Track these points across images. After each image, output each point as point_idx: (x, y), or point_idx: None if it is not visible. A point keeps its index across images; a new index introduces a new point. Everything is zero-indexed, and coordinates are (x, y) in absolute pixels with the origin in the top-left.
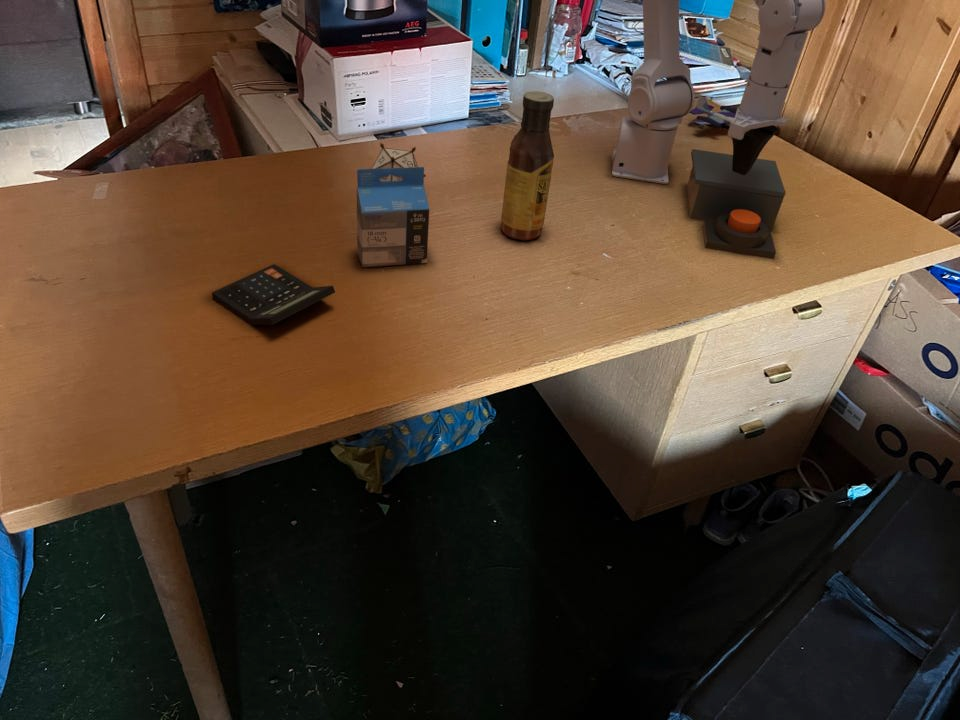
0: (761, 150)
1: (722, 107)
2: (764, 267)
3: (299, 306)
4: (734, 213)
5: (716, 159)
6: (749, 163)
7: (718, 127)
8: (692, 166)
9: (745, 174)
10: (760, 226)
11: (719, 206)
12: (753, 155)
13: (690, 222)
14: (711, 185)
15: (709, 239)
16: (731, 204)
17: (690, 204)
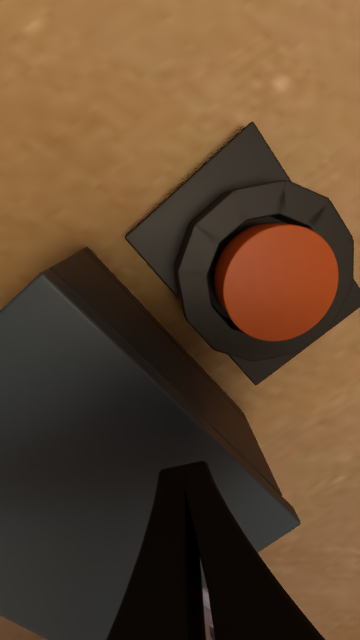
0: (125, 613)
1: None
2: (313, 116)
3: None
4: (296, 323)
5: (78, 594)
6: (233, 518)
7: None
8: None
9: (194, 463)
10: (226, 233)
11: (213, 398)
12: (274, 579)
13: (257, 400)
14: (260, 477)
15: (352, 304)
16: (192, 382)
17: None
